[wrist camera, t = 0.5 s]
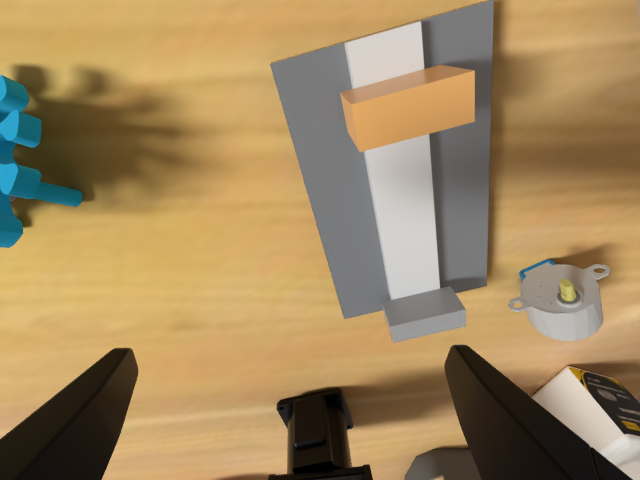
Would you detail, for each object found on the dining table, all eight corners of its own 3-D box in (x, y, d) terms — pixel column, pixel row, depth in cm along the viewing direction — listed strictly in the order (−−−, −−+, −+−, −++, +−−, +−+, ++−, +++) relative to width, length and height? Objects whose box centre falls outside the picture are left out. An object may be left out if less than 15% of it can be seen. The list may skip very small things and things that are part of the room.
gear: (-9, 16, 14) (12, 228, 12) (119, 89, 20) (151, 244, 17) (-125, 137, 18) (-128, 320, 15) (11, 171, 23) (25, 309, 21)
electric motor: (576, 229, 24) (636, 269, 20) (583, 273, 27) (639, 318, 22) (485, 270, 26) (524, 316, 21) (499, 309, 28) (537, 357, 24)
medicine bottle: (616, 377, 34) (753, 520, 24) (567, 416, 38) (669, 556, 27) (566, 363, 33) (692, 511, 22) (518, 405, 36) (609, 551, 26)
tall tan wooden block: (441, 106, 17) (474, 121, 14) (348, 132, 17) (360, 152, 14) (439, 64, 16) (474, 70, 13) (339, 92, 16) (350, 104, 13)
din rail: (478, 276, 26) (510, 316, 22) (342, 308, 27) (350, 352, 23) (481, 2, 17) (536, -10, 13) (271, 62, 17) (265, 69, 14)
